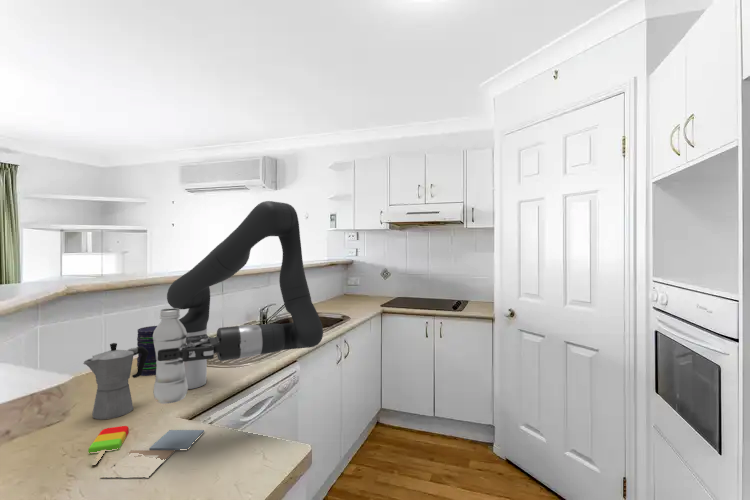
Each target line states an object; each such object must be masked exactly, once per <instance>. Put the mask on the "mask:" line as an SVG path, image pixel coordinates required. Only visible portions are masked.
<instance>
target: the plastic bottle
mask: <svg viewBox="0 0 750 500" xmlns="http://www.w3.org/2000/svg"><path fill="white" fill-rule="evenodd" d="M180 310H181V309H179V308H173V307H170V308H162V309H160V311H159V312H160V316H159V319H160V322H159V323H158V325H156V326H157V327H156V329H155V330H154V333H153V340H154V347H155V352H156V360H157V361H156V375H155V381H154V384H153V397H154V400H155V401H156V402H157V403H158V404H165V405H166V404H171V403H176V402H180V401H181V400H183V399H185V397H186V395H187V394H188V390H189V389H188V385H187V379H186V377H185V367H184V362H183V361H182V360H179V358H178V359H173V360H165V361H158V351H159V350H162V349H170V348H178V350H179V347H183V346H185V343H186V334H187V332H186V329H185V327H184V326H183V324H182V323H181V322H180V321H179V319H180V318H181V314H180Z"/></svg>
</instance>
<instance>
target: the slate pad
mask: <svg viewBox="0 0 750 500" xmlns="http://www.w3.org/2000/svg"><path fill="white" fill-rule="evenodd" d="M203 432H204V433H205V430H204V429H169V430H167V432H166V433H165V434H163V436H161V437H160V438H159V439H158V440H156V442H154V443H153V444H152V445H151V446H150V447H149V449H148V450H180V449H188V448H189V447H190V446H191V445H192V443H193V442H195V440H196V439H197V438H198V437H199V436H200V435H201V434H202V433H203ZM204 433H203V434H204ZM203 434H202V435H203ZM195 443H196V442H195ZM192 446H193V445H192ZM192 446H191V447H192Z"/></svg>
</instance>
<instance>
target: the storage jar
mask: <svg viewBox="0 0 750 500" xmlns="http://www.w3.org/2000/svg"><path fill="white" fill-rule="evenodd" d="M157 326H158V325H150V326H145V327H140V328H137V336H136V338H137V339H136V340H137V344H136V345H137V346H136V347H140V346H143V347H144V348H145V349H146V350H147V351H148V356H147V359H146V362H145V365H144V368H143V371H142V374H141V376H142V377H150V376H156V361H157V360H156V352H155V347H154V340H153V333H154V330H155V329H156V327H157ZM137 355H138V356H137V358H136V360H137V362H136V367H137V368H136V369H137V370H138V365H139V363H140V357H141V355H142V354H141V353H139V354H137ZM141 376H140V377H141Z"/></svg>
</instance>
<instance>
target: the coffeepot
mask: <svg viewBox="0 0 750 500" xmlns="http://www.w3.org/2000/svg"><path fill="white" fill-rule="evenodd" d="M109 347H110V350H107V351H104V352H101V353H98V354H95V355H92V357H91V358H88V359H86V360H85V361H83V363H82V364H83V365H86V366H87V367H88V368H89V369H90V371H92V373H93V375H94V377H95V381H96V384H97V385H96V386H97V387H96V388H97V389H96V394H95V399H94V403H93V410H92V419H95V420H110V419H115V418H119V417H122V416H125V415H127V414H129V413H131V411H133V410H134V406H133V405H134V404H133V400H132V399H133V398H132V393H131V388H130V384H129V379H130V378H131V377H132V378H133V379H136V378H139V377H141V374H142V371H143V368H144V365H145V362H146V359H147V356H148V351H147V350H146V349H145V348H144V347H143V346H140V347H138V346H136V347H131V348H128V349H117V347H118V343H117V342H113V343H110V344H109ZM139 353H141V354H142V355H141V357H140V363H139V365H138V369H137V372H136V373H135V374H132V375H131V373H132V368H133V360H134V356H136V355H138V354H139Z"/></svg>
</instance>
